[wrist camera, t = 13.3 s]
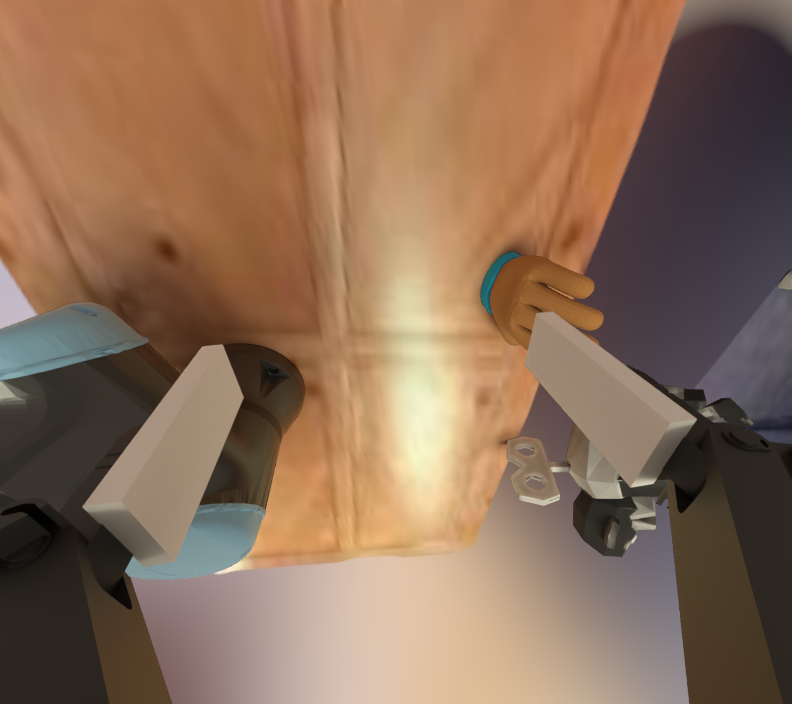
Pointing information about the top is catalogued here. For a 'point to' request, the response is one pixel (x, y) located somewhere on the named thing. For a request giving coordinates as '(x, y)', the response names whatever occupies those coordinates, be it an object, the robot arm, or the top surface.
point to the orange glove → (535, 296)
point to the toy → (605, 480)
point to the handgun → (786, 282)
